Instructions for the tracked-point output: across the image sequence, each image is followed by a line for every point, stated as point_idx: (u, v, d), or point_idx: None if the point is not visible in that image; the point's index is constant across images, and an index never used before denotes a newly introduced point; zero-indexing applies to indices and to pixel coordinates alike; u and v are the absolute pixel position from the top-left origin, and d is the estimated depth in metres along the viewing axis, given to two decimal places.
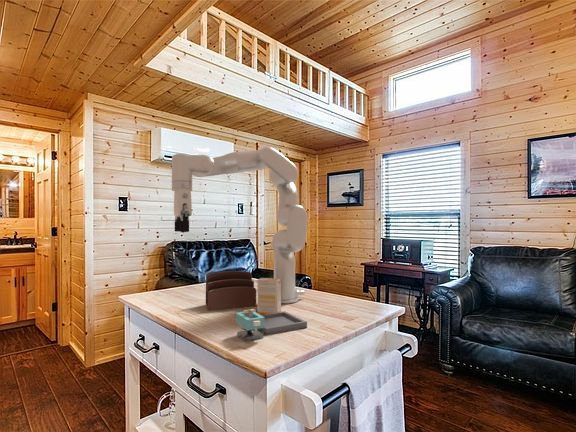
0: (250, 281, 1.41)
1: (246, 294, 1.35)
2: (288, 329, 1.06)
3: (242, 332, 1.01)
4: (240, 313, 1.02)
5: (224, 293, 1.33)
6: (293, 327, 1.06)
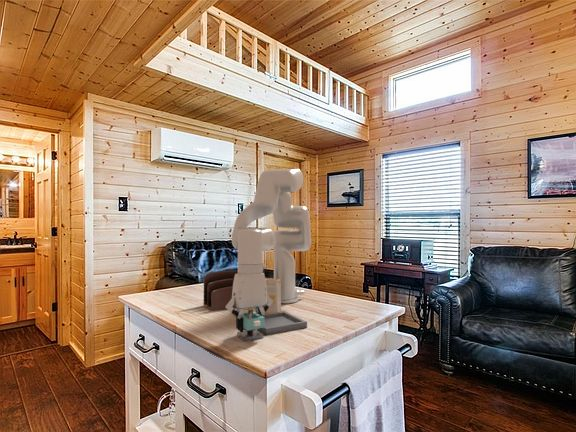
0: None
1: None
2: (288, 329, 1.06)
3: (242, 332, 1.01)
4: None
5: (227, 292, 1.34)
6: (293, 327, 1.06)
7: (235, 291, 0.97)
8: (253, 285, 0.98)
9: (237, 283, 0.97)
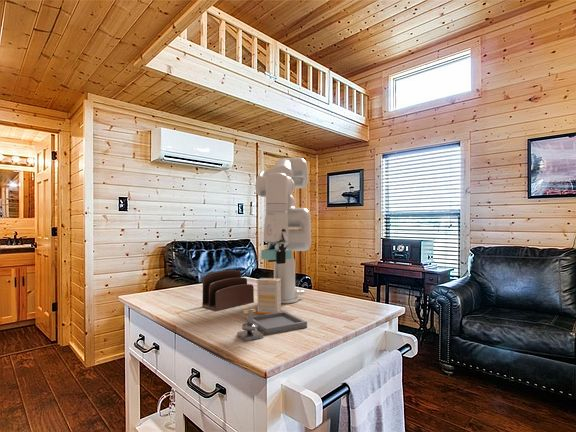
0: (244, 279, 1.46)
1: (246, 291, 1.41)
2: (288, 329, 1.06)
3: (242, 332, 1.01)
4: (271, 250, 1.09)
5: (229, 292, 1.35)
6: (293, 327, 1.06)
7: (285, 227, 1.09)
8: None
9: (286, 220, 1.09)
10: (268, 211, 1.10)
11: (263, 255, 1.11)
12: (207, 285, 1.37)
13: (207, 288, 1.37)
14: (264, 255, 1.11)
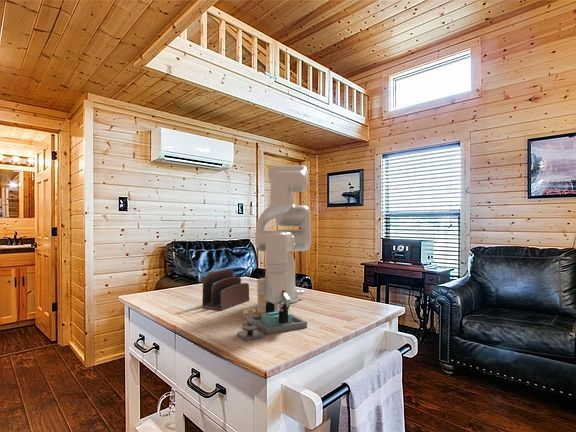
0: (239, 278, 1.48)
1: (243, 290, 1.44)
2: (288, 329, 1.06)
3: (242, 332, 1.01)
4: (271, 316, 1.09)
5: (231, 291, 1.36)
6: (293, 327, 1.06)
7: (285, 288, 1.08)
8: None
9: (286, 281, 1.09)
10: (268, 271, 1.10)
11: (263, 319, 1.11)
12: (207, 286, 1.36)
13: (207, 289, 1.36)
14: (264, 320, 1.10)
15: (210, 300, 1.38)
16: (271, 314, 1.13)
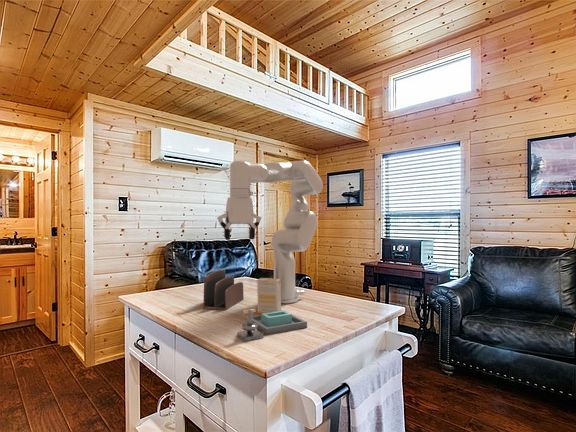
0: (233, 278, 1.49)
1: (239, 289, 1.46)
2: (288, 329, 1.06)
3: (242, 332, 1.01)
4: (271, 316, 1.09)
5: (232, 291, 1.37)
6: (293, 327, 1.06)
7: (228, 210, 1.22)
8: (242, 205, 1.23)
9: (229, 203, 1.21)
10: None
11: (263, 319, 1.11)
12: (207, 286, 1.34)
13: (207, 289, 1.35)
14: (264, 320, 1.10)
15: (209, 301, 1.37)
16: (271, 314, 1.13)
